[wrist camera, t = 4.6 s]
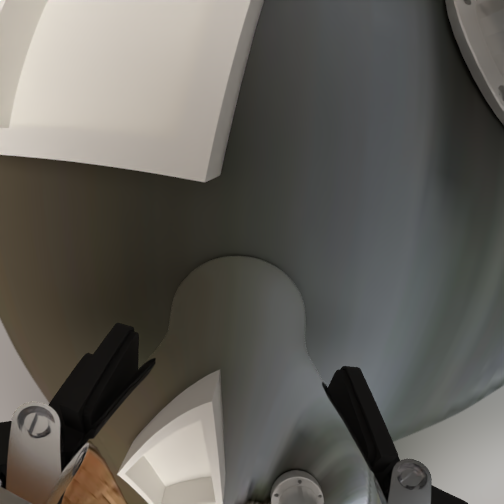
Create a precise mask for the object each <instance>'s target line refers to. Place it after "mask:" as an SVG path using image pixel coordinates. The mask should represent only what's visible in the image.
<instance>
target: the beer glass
mask: <svg viewBox="0 0 504 504" xmlns="http://www.w3.org/2000/svg"><path fill="white" fill-rule="evenodd" d="M305 329H306V312H305V306H304V302H303V299H302V296H301V294H300V292H299V290H298V288H297V286H296V285H295V284H294V282H293V281H292V280H291V279H290V278H289V277H288V276H287V275H286V274H285V273H284V272H283V271H281V270H280V269H279V268H277V267H276V266H274V265H272V264H270V263H268V262H266V261H263V260H260V259H257V258H253V257H248V256H226V257H221V258H217V259H214V260H211V261H208V262H206V263H204V264H202V265H201V266H199V267H197V268H196V269H195V270H193V271H192V272H191V273H190V274H189V275H188V276H187V277H186V278H185V279H184V280H183V281H182V283H181V284H180V286H179V288H178V289H177V292H176V294H175V296H174V299H173V303H172V308H171V314H170V322H169V328H168V331H167V334H166V336H165V337H164V339H163V341H162V343H161V344H160V345H159V346H158V348H157V349H156V350H155V351H154V352H153V354H152V355H151V356H150V357H149V358H148V359H147V361H146V362H145V363H144V364H143V365H142V366H141V367H140V368H139V370H138V371H137V372H136V373H135V374H134V375H133V376H132V377H131V379H130V380H129V381H128V382H127V383H126V384H125V386H124V387H123V388H122V389H121V390H120V391H119V393H118V394H117V395H116V396H115V397H114V398H113V400H112V401H111V402H110V403H109V404H108V406H107V407H106V408H105V409H104V410H103V412H102V413H101V414H100V416H99V417H98V418H97V420H96V421H95V422H94V424H93V425H92V426H91V428H90V429H89V430H88V432H87V433H86V435H85V436H84V437H83V439H82V440H81V441H80V443H79V444H78V446H77V447H76V448H75V450H74V451H73V452H72V454H71V456H70V458H69V459H68V461H67V463H66V465H65V467H64V469H63V470H62V472H61V474H60V476H59V478H58V480H57V481H56V483H55V485H54V487H53V489H52V491H51V493H50V495H49V497H48V499H47V500H46V503H45V504H387V502H386V499H385V496H384V494H383V491H382V488H381V485H380V483H379V480H378V478H377V476H376V474H375V472H374V470H373V468H372V466H371V464H370V462H369V460H368V458H367V456H366V454H365V452H364V450H363V448H362V446H361V444H360V442H359V441H358V439H357V437H356V435H355V433H354V431H353V430H352V428H351V426H350V425H349V423H348V421H347V419H346V418H345V416H344V414H343V413H342V411H341V409H340V408H339V406H338V404H337V403H336V401H335V399H334V397H333V396H332V394H331V393H330V391H329V389H328V388H327V386H326V384H325V383H324V381H323V379H322V378H321V376H320V375H319V373H318V371H317V369H316V368H315V366H314V364H313V362H312V360H311V359H310V357H309V354H308V351H307V349H306V344H305Z"/></svg>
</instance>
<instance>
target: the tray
mask: <svg viewBox="0 0 504 504" xmlns="http://www.w3.org/2000/svg"><path fill="white" fill-rule="evenodd" d="M263 2H264V0H0V155H10V156H22V157H33V158H44V159H53V160H62V161H71V162H79V163H87V164H95V165H102V166H109V167H116V168H123V169H130V170H136V171H142V172H149V173H155V174H161V175H166V176H172V177H178V178H183V179H189V180H194V181H200V182H207V181H209V180H211V179H214V178H216V177H218V176H220V175H221V170H222V165H223V161H224V156H225V152H226V147H227V143H228V138H229V134H230V129H231V125H232V121H233V116H234V112H235V108H236V104H237V100H238V95H239V91H240V87H241V83H242V79H243V75H244V71H245V68H246V64H247V60H248V56H249V52H250V49H251V45H252V41H253V38H254V34H255V30H256V27H257V23H258V20H259V16H260V13H261V9H262V6H263Z"/></svg>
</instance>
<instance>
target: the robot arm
mask: <svg viewBox="0 0 504 504" xmlns="http://www.w3.org/2000/svg"><path fill="white" fill-rule="evenodd" d="M445 2H446V7H447V13H448V18H449V21H450V24H451V27H452V30H453V33H454V36H455V39H456V41H457V43H458V46H459V48H460V51H461V53H462V56H463V58H464V60H465V62H466V64H467V66H468V68H469V70H470V72H471V74H472V77H473V78H474V80H475V82H476V84H477V85H478V87H479V89H480V91H481V92H482V94H483V96H484V98H485V99H486V101H487V102H488V104H489V105H490V107H491V108H492V110H493V111H494V113H495V115H496V116H497V117H498V119H499V120H500V121H501V122H502V124H503V125H504V0H445ZM138 345H139V334H138V333H136V332H134V328H133V327H131V326H127V325H124V324H120V323H116V324H115V326H114V327H113V328H112V330H111V331H110V332H109V334H108V335H107V336H106V338H105V339H104V340H103V342H102V343H101V344H100V346H99V347H98V349H97V350H96V351H95V353H94V354H93V355H92V354H90V353H87V354H85V355H84V356H83V358H82V359H81V360H80V362H79V363H78V364H77V366H76V367H75V368H74V370H73V371H72V373H71V374H70V375H69V377H68V378H67V379H66V381H65V382H64V384H63V385H62V386H61V388H60V389H59V391H58V392H57V393H56V395H55V396H54V398H53V399H52V401H51V402H50V404H49V405H46V404H44V403H40V402H29V403H25V404H23V405H21V406H20V407H18V408H17V410H16V411H15V412H14V415H13V417H12V421H9V422H1V423H0V504H45V503H46V500H47V499H48V497H49V495H50V493H51V491H52V489H53V487H54V485H55V483H56V481H57V480H58V478H59V476H60V474H61V472H62V470H63V469H64V467H65V465H66V463H67V461H68V459H69V458H70V456H71V454H72V452H73V451H74V450H75V448H76V447H77V446H78V444H79V443H80V441H81V440H82V439H83V437H84V436H85V435H86V433H87V432H88V430H89V429H90V428H91V426H92V425H93V424H94V422H95V421H96V420H97V418H98V417H99V416H100V414H101V413H102V412H103V410H104V409H105V408H106V407H107V406H108V404H109V403H110V402H111V401H112V400H113V398H114V397H115V396H116V395H117V394H118V393H119V391H120V390H121V389H122V388H123V387H124V386H125V384H126V383H127V382H128V381H129V380H130V379H131V377H132V376H133V375H134V374H135V373H136V372H137V371H138ZM328 389H329V391H330V393H331V394H332V396H333V397H334V399H335V401H336V403H337V404H338V406H339V408H340V409H341V411H342V413H343V414H344V416H345V418H346V419H347V421H348V423H349V425H350V426H351V428H352V430H353V431H354V433H355V435H356V437H357V439H358V441H359V442H360V444H361V446H362V448H363V450H364V452H365V454H366V456H367V458H368V460H369V462H370V464H371V466H372V468H373V470H374V472H375V474H376V476H377V478H378V480H379V483H380V485H381V488H382V491H383V494H384V496H385V499H386V502H387V504H468V503H467V502H465V501H463V500H461V499H459V498H457V497H455V496H453V495H450V494H448V493H446V492H444V491H442V490H440V489H438V488H436V487H434V486H432V485H431V474H430V472H429V470H428V469H427V467H426V466H424V464H422V463H421V462H419V461H416V460H414V459H404V460H401V461H400V459H399V457H398V453H397V451H396V449H395V446H394V444H393V441H392V439H391V437H390V434H389V432H388V430H387V427H386V425H385V423H384V420H383V418H382V416H381V414H380V411H379V409H378V407H377V404H376V402H375V400H374V398H373V396H372V393H371V391H370V389H369V387H368V385H367V382H366V380H365V378H364V376H363V374H362V371H361V370H360V368H358V367H349V366H343V367H342V368H341V369H340V370H337V371H336V372H335V374H334V376H333V378H332V380H331V382H330V384H329V386H328Z"/></svg>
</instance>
